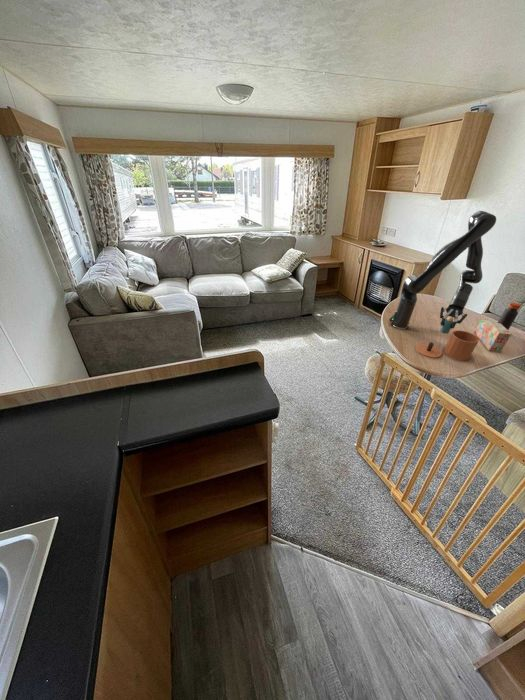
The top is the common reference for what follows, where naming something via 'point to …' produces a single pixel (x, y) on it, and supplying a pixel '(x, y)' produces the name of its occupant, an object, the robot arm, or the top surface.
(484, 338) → the colourful patterned box
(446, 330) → the toy doll
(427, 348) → the lid
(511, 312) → the bottle
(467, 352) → the pot
